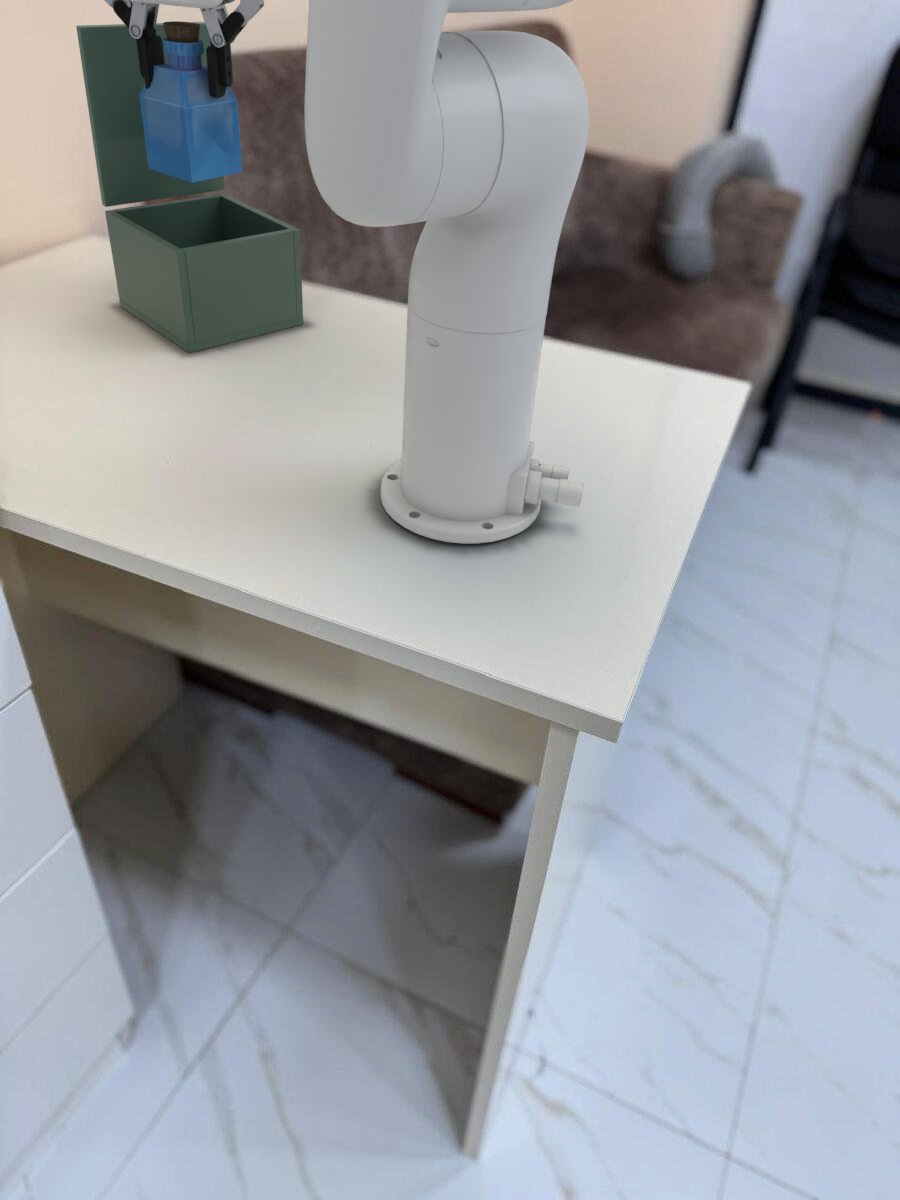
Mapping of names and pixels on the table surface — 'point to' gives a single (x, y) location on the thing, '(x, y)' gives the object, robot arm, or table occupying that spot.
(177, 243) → the chest
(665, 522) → the table surface
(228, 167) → the perfume bottle
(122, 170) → the lid
